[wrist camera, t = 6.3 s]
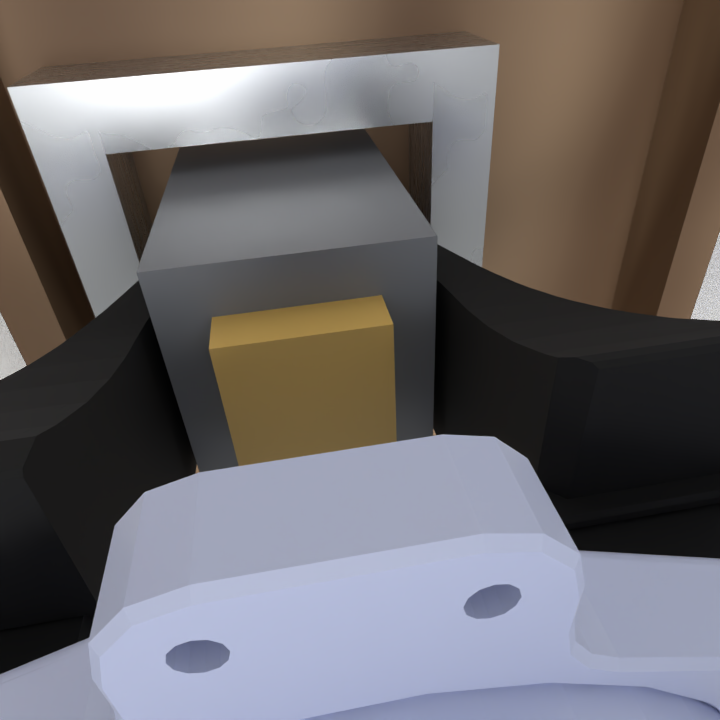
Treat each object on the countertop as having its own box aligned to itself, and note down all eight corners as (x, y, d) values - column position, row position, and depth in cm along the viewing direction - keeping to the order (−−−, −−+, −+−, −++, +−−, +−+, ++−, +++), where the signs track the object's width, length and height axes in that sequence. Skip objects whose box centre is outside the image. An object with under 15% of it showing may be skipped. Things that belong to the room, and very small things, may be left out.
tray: (750, -161, 11) (859, -184, 9) (586, 473, 22) (620, 526, 20) (-124, -115, 10) (-220, -131, 8) (158, 544, 20) (148, 609, 18)
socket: (465, 30, 12) (499, 44, 10) (449, 359, 17) (471, 403, 15) (41, 66, 11) (7, 87, 9) (156, 400, 16) (147, 451, 14)
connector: (364, 128, 13) (454, 261, 7) (372, 288, 15) (445, 481, 9) (179, 146, 12) (125, 303, 7) (217, 308, 15) (200, 522, 9)
